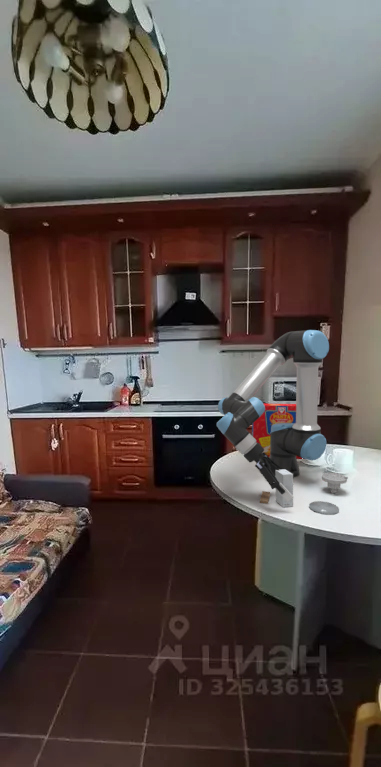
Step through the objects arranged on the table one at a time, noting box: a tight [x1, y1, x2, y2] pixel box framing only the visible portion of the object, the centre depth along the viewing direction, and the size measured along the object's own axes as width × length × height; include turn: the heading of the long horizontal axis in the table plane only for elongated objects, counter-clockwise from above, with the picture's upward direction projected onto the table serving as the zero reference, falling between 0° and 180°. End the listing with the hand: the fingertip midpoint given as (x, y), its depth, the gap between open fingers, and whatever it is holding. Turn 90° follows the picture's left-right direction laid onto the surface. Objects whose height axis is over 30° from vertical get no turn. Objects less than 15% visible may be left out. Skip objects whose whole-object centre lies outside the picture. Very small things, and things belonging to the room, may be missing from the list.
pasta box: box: [251, 402, 303, 460], centre depth 196 cm, size 28×8×28 cm, turn 85°
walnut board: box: [259, 490, 271, 505], centre depth 140 cm, size 10×3×1 cm, turn 164°
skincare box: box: [275, 469, 294, 508], centre depth 135 cm, size 6×4×12 cm
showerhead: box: [321, 472, 349, 494], centre depth 147 cm, size 9×7×10 cm
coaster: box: [308, 500, 340, 516], centre depth 132 cm, size 10×10×1 cm
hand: (291, 492), depth 134 cm, fingers open, 12 cm apart
